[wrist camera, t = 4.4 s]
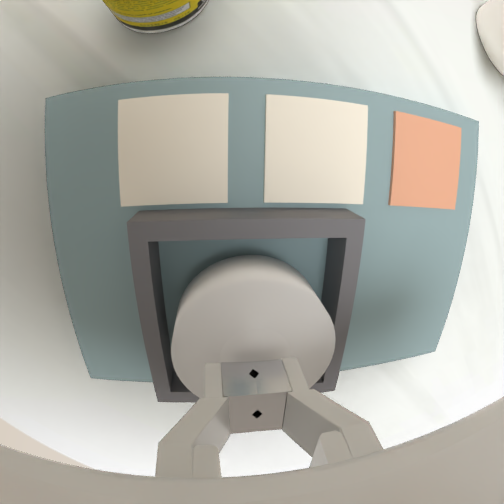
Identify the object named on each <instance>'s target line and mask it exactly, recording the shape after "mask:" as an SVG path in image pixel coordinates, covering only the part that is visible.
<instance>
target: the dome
mask: <svg viewBox="0 0 504 504" xmlns="http://www.w3.org/2000/svg"><path fill="white" fill-rule="evenodd" d="M334 349H335V330H334V325H333V322H332V320H331V317H330V316H329V314H328V312H327V311H326V309H325V307H324V306H323V304H322V303H321V301H320V300H319V298H318V297H317V295H316V294H315V292H314V290H313V289H312V287H311V286H310V284H309V283H308V281H307V280H306V279H305V277H304V276H303V275H302V274H301V273H300V272H299V271H297V270H296V269H295V268H294V267H292V266H290V265H289V264H287V263H285V262H283V261H281V260H279V259H275V258H272V257H268V256H262V255H240V256H235V257H230V258H227V259H224V260H221V261H218V262H216V263H214V264H212V265H210V266H209V267H207V268H206V269H204V270H203V271H201V272H200V273H199V274H198V275H197V276H196V277H194V279H193V280H192V281H191V282H190V283H189V284H188V286H187V287H186V289H185V291H184V292H183V295H182V297H181V299H180V302H179V306H178V310H177V315H176V321H175V326H174V332H173V337H172V344H171V358H172V363H173V367H174V369H175V371H176V374H177V376H178V377H179V379H180V380H181V382H182V383H183V384H184V385H185V386H186V388H187V389H188V390H190V391H191V392H192V393H193V394H194V395H196V396H197V397H199V398H205V391H204V365H205V363H220V364H221V362H249V361H264V360H276V359H283V358H291V357H296V358H297V359H298V362H299V364H300V367H301V369H302V372H303V374H304V377H305V379H306V382H307V384H308V387H309V388H311V387H312V386H313V385H314V384H315V383H316V382H317V381H318V380H319V379H320V378H321V376H322V375H323V374H324V372H325V371H326V369H327V367H328V366H329V364H330V362H331V359H332V357H333V353H334Z"/></svg>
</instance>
